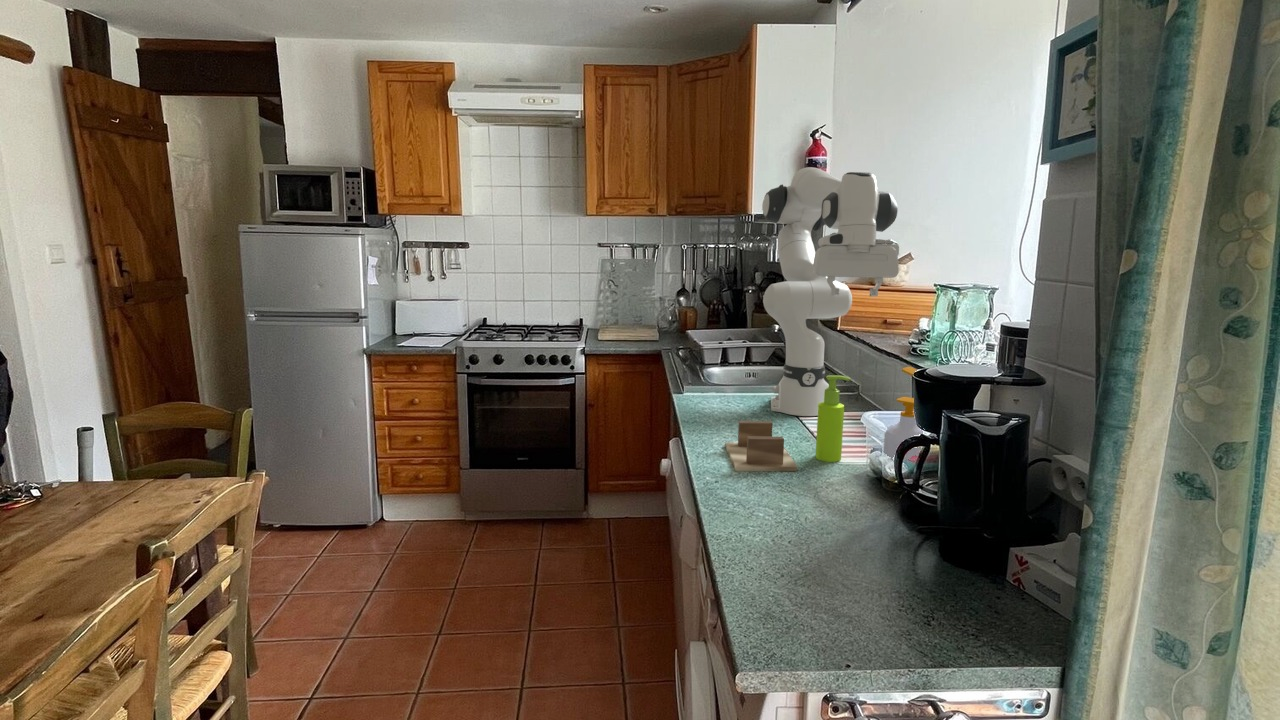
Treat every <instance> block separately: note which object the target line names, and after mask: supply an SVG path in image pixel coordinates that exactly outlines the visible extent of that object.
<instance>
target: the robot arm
mask: <svg viewBox="0 0 1280 720" xmlns="http://www.w3.org/2000/svg"><path fill="white" fill-rule="evenodd" d="M877 184H878V183H877V178H876V175H874V174H873V173H872V172H857V171H854V172H853V171H852V172H851V171H849V172H846V173H843V175H842V177H841V179H840V178H838V177H836V176H835V175H832V174H830V173H829V172H827V171H825V170H823V169H821V168H817V167H812V166H810V167H809V166H807V167H803V168H801V169H799V170H797V172H796V173H794V175H793V176H792V179H791V183H790V185H788V186H787V185H786V186H785V185H783V183H782V184H780V185H779V186H778V187H777V186H776V187H774V188H771V189H770V190H769V191H767V192H766V193H765V195H764V198H763V201H762V209H761V210H762V215H763V217H764V219H765V221H768V222H770V223H774V224H777V223H779V224H784V226H783V227H782V228H781V229H780V230H779V232H778V235H777V253H778V258H779V260H778V261H779V264H780V269H781V274H782V276H783V278H784V279H785V280H786V281H781V282H776V283H771V284H769V286H768V287H767V288H766V289H765V292H764V295H763V298H762V299H763V300H762V301H763V308H764V310H765V311H766V313H767V314H768V315H769V316H770V317H771V318H773V319H774V320H775V321H776V322H777V323H778V325H779V326H780V328H781V329H782V330H781V331H782V332H783V335H784V336H783V337H784V340H785V363H784V365H783V369H782V370H783V371H782V375H783V376H782V378H781V379H780V381H779V382H778V385H774V386H773V389H772V390H773V394H776V395H775V396H770V397H771V398H770V411H772V412H777V413H783V414H786V415H792V416H797V417H798V416H799V417H801V416H802V417H815V416H817V417H818V404H819V403H821V402H824V392H825V389H827V388H828V387H829V382H827V381H826V380H825V378H826V377H825V374H826V366H825V364H824V363H825V361H824V360H825V345H826V344H825V340H824V337H823V336H822V335H821V334H819V333H818V332H816V331H814V330H812V329H810V328H809V327H807V320H808V319H809V320H810V319H811V320H812V319H815V320H816V319H823V320H824V319H828V320H829V319H834V318H839V317H844V316H846V314H848V313H849V311H850V309H852V306H853V305H852V304H853V295H852V291H851V289H850V288H849V286H848V285H846V284H845V283H843V282H841V281H839V280H836V278H871V279H872V278H874V283H875V285H874V287H873V288H869V297H878V295H879V289H880V287H881V286H882V284H883V283H884V279H885V278H886V279H889V278H890V279H892V278H896V277H897V276H898V275H899V273H900V272H899V271H900V269H899V258H898V256H899V255H900V245H899V244H898V242H896V241H894V240H893V239H882V238H881V239H880V238H879V239H877V232H881V233H882V232H885V231H886V230H887V229H889V227H891V225H893V224H894V223H895V221H896V219H897V216H898V208H899V207H898V204H897V203H898V202H897V201H896V199H895V198H894V196H893V195H892V194H891V193H890V192H889V191H878V185H877ZM785 224H786V225H785ZM824 226H826V227H827V228H829V229H833V230H837V232H833V233H830V234H828V235H824V236H822V237H820V238H819V239H818V242H817V244H818V246H819V248H818V249H816V248H815V245H814V243H813V239H812V230H813V232H818V231H820V230H821V228H822V227H824Z"/></svg>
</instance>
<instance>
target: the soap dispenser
mask: <svg viewBox="0 0 1280 720" xmlns="http://www.w3.org/2000/svg"><path fill="white" fill-rule="evenodd" d="M825 378H826V380H828V384H829V387H828V388H827V389H825V392H824V402H821V403H819V404H818V416H817V420H816V421H817V422H816V440H815V441H816V442H815V444H816V445H815V458H816V459H817V460H818V461H822V462H825V463H826V462H827V463H835V462H840V461H841V460H842V451H843V433H844V432H843V431H844V420H845V419H844V418H845V417H844V416H845V415H844V414H845V405H844V404H842V403H840V390H839V389H838V388H837V380H839V381H840V380H843V381H847V382H849V381H851V380H852V378H851V377H849V376H845V375H838V374H837V375H835V374H833V375H832V374H831V375H826V377H825Z"/></svg>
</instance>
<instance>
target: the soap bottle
mask: <svg viewBox="0 0 1280 720" xmlns="http://www.w3.org/2000/svg"><path fill="white" fill-rule="evenodd" d="M917 370H918V369H916V368H914V367H912V366H907V367H902V368H901V372H903V373H904V374H905V373H906V374H907V375H909V376H911V377H913V373H914V372H915V371H917ZM914 398H915V397H909V396H901V397H898V398H897V399H896V402H898V403H902V406H903V407H904V410H903V411H901V412H900V414H899V415H900V417H899V422H897V423H895V424H893V425H891V426H890V427H888V428H887V429H886V430H885V432H884V441H883V452H884V453H885V454H887V456H889V457H891V459H892V458H893V457H894V455H895V451H896V448H897V446H898V445H899V444H900V443H901V442H902V441H903V440H905V439H907V438H909V437H911V436H914V435H919V434H923V431H922V430H920V429H919V428H918V427H917V426H916V423H915V418H914V412H915V411H914V408H915V407H914ZM919 450H921V447H919V448H918V447H917V448H913V449H911V450H910V451H908V453H907V454H906V457H905V459H907V461H908V459H909V458H911V457H912V456H915V455H916V456H918V453H919ZM904 462H905V461H904Z"/></svg>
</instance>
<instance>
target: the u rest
mask: <svg viewBox="0 0 1280 720" xmlns="http://www.w3.org/2000/svg"><path fill="white" fill-rule="evenodd" d="M737 428H738V430H737V431H738V432H737V442H724V447H725V450H726V452H727V455H728V457H729V460H730V461H731V464H732V466H733V468H734V471H735V472H798V470H799V469H798V468H799V467H798V465H797V463H795V460H793V459H794V458H792V456H791V455H790V453H789V452H788V451H787V449H786V447H785V438H784V437H783V436H773V422H772V420H738V427H737Z"/></svg>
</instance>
